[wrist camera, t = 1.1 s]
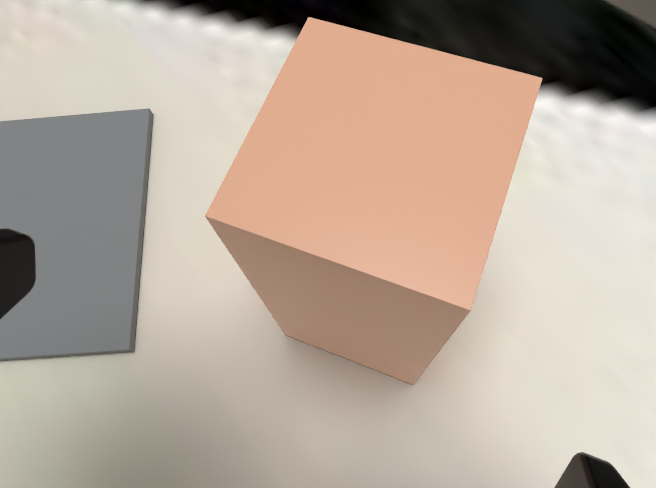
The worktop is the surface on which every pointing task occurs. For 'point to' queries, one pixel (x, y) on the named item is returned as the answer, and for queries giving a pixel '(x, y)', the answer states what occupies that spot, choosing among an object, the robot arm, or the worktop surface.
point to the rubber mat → (76, 230)
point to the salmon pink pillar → (373, 192)
